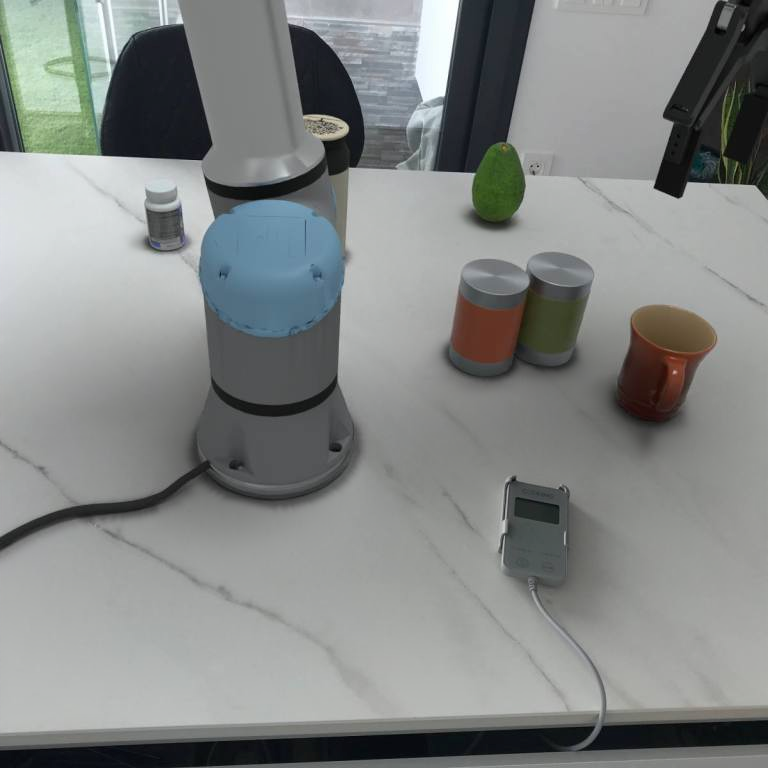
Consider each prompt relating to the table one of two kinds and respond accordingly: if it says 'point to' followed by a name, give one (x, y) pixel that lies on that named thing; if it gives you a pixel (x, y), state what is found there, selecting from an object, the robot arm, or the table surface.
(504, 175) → the fruit
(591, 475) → the table surface
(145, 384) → the table surface
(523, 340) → the tins
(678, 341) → the mug
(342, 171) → the travel mug
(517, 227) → the table surface
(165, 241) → the pill bottle
